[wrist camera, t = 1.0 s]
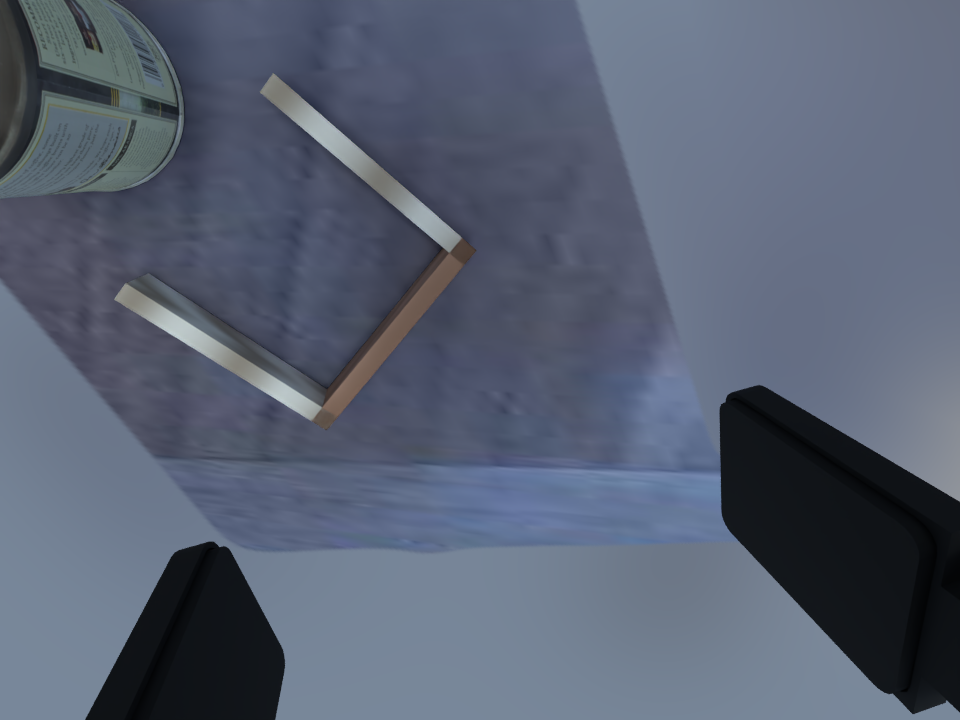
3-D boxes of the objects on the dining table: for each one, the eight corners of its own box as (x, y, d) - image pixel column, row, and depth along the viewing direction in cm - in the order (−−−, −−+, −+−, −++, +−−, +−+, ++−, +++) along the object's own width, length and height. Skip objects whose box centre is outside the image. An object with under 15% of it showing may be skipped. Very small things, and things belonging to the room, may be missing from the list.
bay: (138, 288, 31) (114, 299, 29) (283, 82, 29) (273, 73, 26) (331, 410, 36) (326, 430, 34) (469, 243, 34) (476, 250, 31)
